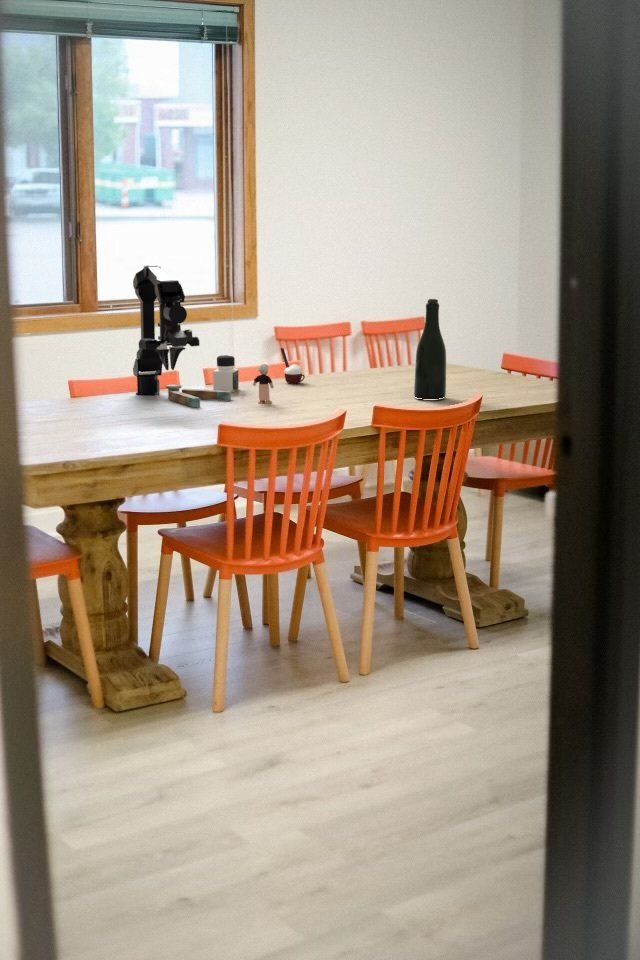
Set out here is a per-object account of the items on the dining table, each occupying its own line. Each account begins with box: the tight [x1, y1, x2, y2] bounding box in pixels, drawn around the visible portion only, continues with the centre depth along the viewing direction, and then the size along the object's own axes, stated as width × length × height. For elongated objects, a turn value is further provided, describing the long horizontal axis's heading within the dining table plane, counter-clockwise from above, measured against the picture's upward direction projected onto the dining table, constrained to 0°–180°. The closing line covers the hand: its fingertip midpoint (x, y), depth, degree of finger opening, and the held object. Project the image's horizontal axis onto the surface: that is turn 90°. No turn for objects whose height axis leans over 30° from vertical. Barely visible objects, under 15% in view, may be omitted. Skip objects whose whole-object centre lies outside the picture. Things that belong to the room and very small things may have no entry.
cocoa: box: [280, 347, 306, 385], centre depth 434 cm, size 10×6×12 cm, turn 38°
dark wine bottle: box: [413, 298, 447, 399], centre depth 403 cm, size 10×10×33 cm
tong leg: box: [168, 390, 201, 408], centre depth 394 cm, size 16×2×3 cm, turn 34°
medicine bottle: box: [212, 354, 239, 394], centre depth 418 cm, size 7×7×12 cm
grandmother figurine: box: [252, 363, 274, 405], centre depth 395 cm, size 8×4×13 cm, turn 71°
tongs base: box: [165, 384, 232, 402], centre depth 402 cm, size 22×6×4 cm, turn 74°
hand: (169, 369), depth 384 cm, fingers closed
